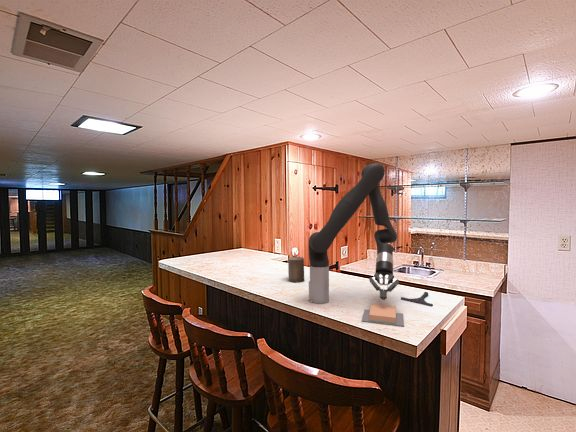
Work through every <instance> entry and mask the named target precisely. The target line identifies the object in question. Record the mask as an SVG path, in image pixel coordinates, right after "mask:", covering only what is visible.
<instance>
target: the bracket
mask: <svg viewBox="0 0 576 432" xmlns="http://www.w3.org/2000/svg"><path fill="white" fill-rule="evenodd" d="M427 297H429V292H427V291H424V292H423V294H422V295H421V296H420V297H417V298H416V297H415V298H407V297H404V296H400V300H401V301H405V302H410V303H414V304H418V305H423V306H427V307H430V308H431V307H433V306H434V305H433V304H432V303H429V302H427V301H426V300H425V299H426V298H427Z"/></svg>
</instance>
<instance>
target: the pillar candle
mask: <svg viewBox="0 0 576 432" xmlns="http://www.w3.org/2000/svg"><path fill="white" fill-rule="evenodd" d="M287 260H288V261H287V263H288V264H287V266H288V268H287V269H288V271H287V272H288V282H290V283H302V282H304V281H305V258H304V257H303V256H302V257H301V256H293V257H291V256H290V257H288V259H287Z"/></svg>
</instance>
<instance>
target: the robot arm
mask: <svg viewBox="0 0 576 432" xmlns="http://www.w3.org/2000/svg"><path fill="white" fill-rule="evenodd" d="M385 172H386V171H385V167H384V166H383V165H382V164H380V163H377V162H374V163H370V164H367V165H366V166H364V167H363V168H362V169H361V173H360V174H361V178H360V180H359V181H358V182H357V183H356V185H355V186H353V187H352V188H351V189H350V190H349V191H347V192H346V193H345V194H344V195H343V196H342V197H341V199H340V200H339V201H338V202H337V204H336V205H335V206H334V208H333V210H332V212H331V213H330V216H329V219H328V220H327V221H326V224H325V225H324V226H323V227H322V228H321V230H320V231H316V232H313V233H312V234H311V235H310V236H309V238H308V260H309V280H308V302H311V303H315V304H326V303H329V301H330V260H329V257H328V250H329V249H330V247H331V246H332V243H334V241H335V239H336V237H337V236H338V234H339V233H340V232H341V230H342V229H343V228H344V227H345V226H346V224H348V222H349V221H350V219H351V218H352V217H353V216H354V215H355V214H356V212H357V211H358V209H359V208H360V206H361V205H362V204H363V203H364V201H365V200H366V198H367V197H369V201H370V202H369V203H370V205H371V209H372V215H373V219H374V223H375V225H376V226H381V227H382V226H383V227H385V228H383V229H377V230H376V231H374V234H373V235H374V241H375V244H376V258H375V259H376V260H375V271H374V272H375V273H374V276H373V277H372V276H371V277H369V278H368V279H369V283H370V284H371V285H372V287H373V288H374V289H375V290H376V291H378V292H379V298H380V299H381V301H386V300H387V297H388V292H392V291H394V289H395V288H396V287H397V286H399V284H400V283H399V282H400V280H399V279H398V278H395V276H394V259H393V257H394V256H393V255H394V254H393V251H394V250H393V246H392V245H391V244H392V243H395V242H396V241H397V239H398V234H397V232H396V229H395V228H394V226H393V224H392V223H391V219H390V216H389V215H390V214H389V210H388V207H387V204H386V202H385V199H384V197H383V194H382V193H381V189H380V185H379V183H380V182H382V180H383V179H384V177H385Z"/></svg>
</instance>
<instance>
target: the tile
mask: <svg viewBox="0 0 576 432" xmlns="http://www.w3.org/2000/svg"><path fill="white" fill-rule="evenodd" d="M369 310H370V314H369V321H374V322H383V323H391V324H396V313H397V311H396V310H397V307H396V306H395V305H393V306H392V305H384V304H376V303H375V304H374V303H371V305H370V309H369Z"/></svg>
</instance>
